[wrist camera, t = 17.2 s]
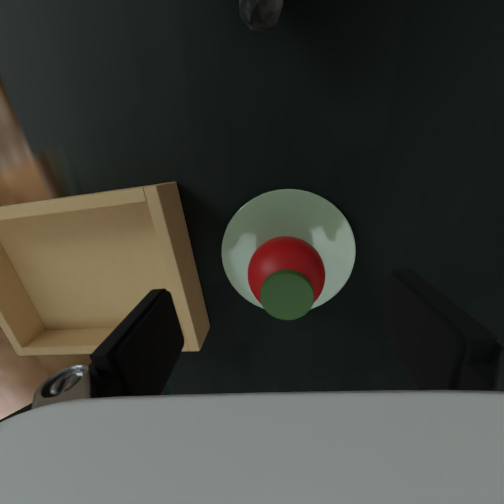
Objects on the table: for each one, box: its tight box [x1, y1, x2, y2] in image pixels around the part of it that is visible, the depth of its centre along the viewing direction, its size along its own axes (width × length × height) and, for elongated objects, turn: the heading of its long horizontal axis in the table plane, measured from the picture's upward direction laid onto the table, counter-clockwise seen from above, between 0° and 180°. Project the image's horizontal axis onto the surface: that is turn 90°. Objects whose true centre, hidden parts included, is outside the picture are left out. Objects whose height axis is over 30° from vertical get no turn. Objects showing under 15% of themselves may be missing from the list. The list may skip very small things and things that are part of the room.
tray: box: [0, 182, 210, 356], centre depth 18 cm, size 16×12×3 cm
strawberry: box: [248, 236, 325, 320], centre depth 14 cm, size 4×4×5 cm
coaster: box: [222, 188, 356, 309], centre depth 16 cm, size 9×9×1 cm
